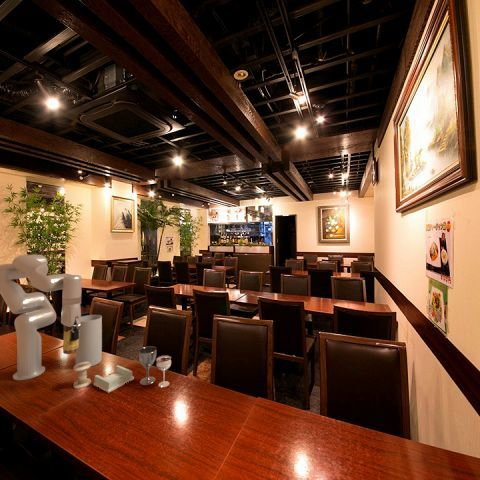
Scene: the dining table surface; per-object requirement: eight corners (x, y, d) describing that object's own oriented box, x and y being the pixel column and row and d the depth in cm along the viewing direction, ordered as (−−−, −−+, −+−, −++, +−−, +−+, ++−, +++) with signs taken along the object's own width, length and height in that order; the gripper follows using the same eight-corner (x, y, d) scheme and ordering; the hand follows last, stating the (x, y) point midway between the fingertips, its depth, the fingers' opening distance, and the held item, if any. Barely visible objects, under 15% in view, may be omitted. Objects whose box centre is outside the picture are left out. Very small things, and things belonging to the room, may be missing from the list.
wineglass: (167, 389, 115) (167, 362, 115) (153, 387, 116) (153, 361, 116) (173, 381, 121) (173, 356, 121) (160, 379, 123) (161, 354, 123)
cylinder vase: (103, 356, 147) (103, 314, 148) (99, 366, 135) (99, 320, 136) (79, 359, 143) (79, 316, 144) (72, 370, 132) (72, 322, 132)
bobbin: (70, 385, 117) (70, 366, 117) (86, 378, 123) (86, 360, 123) (78, 390, 114) (78, 370, 114) (93, 382, 120) (94, 364, 120)
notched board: (93, 384, 118) (93, 376, 118) (119, 372, 129) (119, 364, 129) (108, 392, 112) (108, 383, 112) (134, 379, 123) (134, 370, 123)
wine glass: (135, 383, 119) (135, 351, 119) (147, 375, 127) (147, 345, 127) (148, 386, 116) (148, 354, 116) (159, 378, 124) (159, 347, 124)
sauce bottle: (70, 355, 117) (71, 313, 117) (59, 353, 118) (60, 311, 118) (82, 349, 123) (82, 309, 123) (71, 348, 125) (72, 308, 125)
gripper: (54, 300, 122) (54, 336, 122) (71, 305, 113) (71, 345, 113) (71, 297, 129) (71, 332, 129) (89, 302, 119) (88, 339, 119)
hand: (71, 337), depth 121 cm, fingers closed on sauce bottle, 6 cm apart
